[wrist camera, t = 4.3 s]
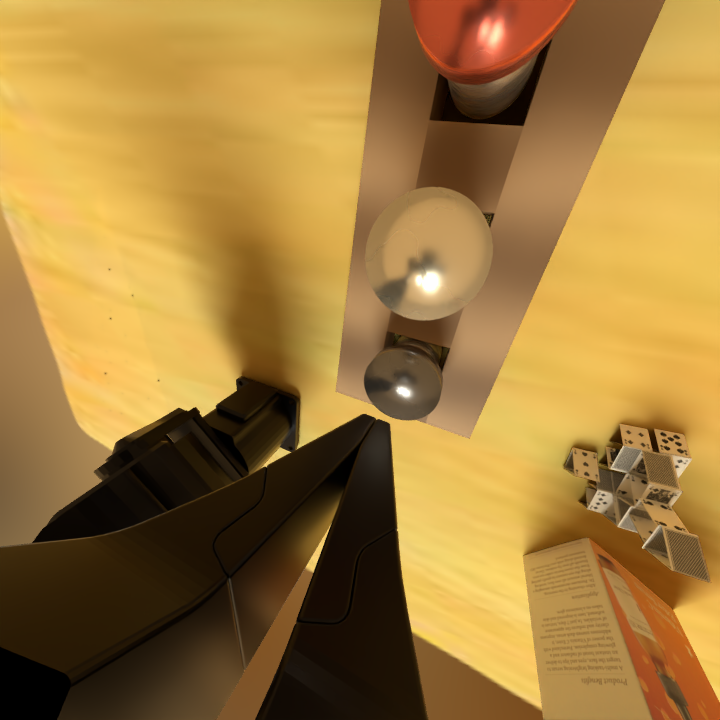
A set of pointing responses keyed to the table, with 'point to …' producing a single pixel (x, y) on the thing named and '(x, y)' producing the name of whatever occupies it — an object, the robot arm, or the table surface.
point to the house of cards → (644, 494)
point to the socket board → (483, 186)
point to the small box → (609, 642)
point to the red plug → (486, 46)
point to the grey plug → (405, 379)
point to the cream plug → (428, 253)
